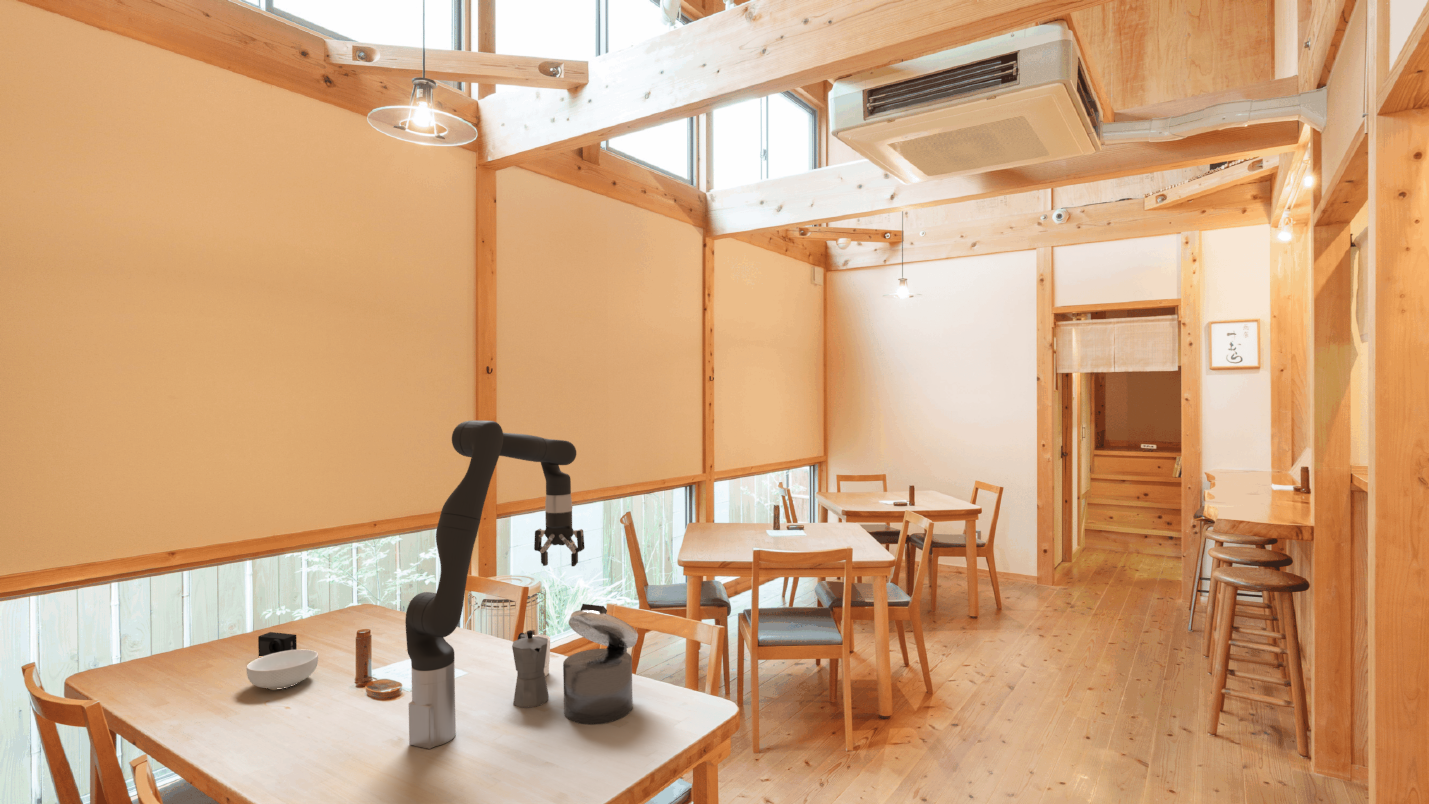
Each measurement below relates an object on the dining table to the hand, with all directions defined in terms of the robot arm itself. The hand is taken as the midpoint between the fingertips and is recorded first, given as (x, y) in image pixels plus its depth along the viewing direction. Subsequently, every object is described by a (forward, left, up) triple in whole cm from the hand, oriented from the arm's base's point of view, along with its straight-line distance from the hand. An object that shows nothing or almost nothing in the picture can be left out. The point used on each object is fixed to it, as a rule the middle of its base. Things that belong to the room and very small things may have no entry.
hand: (559, 565), depth 199 cm
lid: (-16, -24, -12) cm, 31 cm away
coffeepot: (-20, -4, -30) cm, 36 cm away
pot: (-19, -24, -30) cm, 43 cm away
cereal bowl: (-35, +67, -30) cm, 82 cm away
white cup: (-6, +4, -30) cm, 31 cm away
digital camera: (-22, +88, -30) cm, 96 cm away
